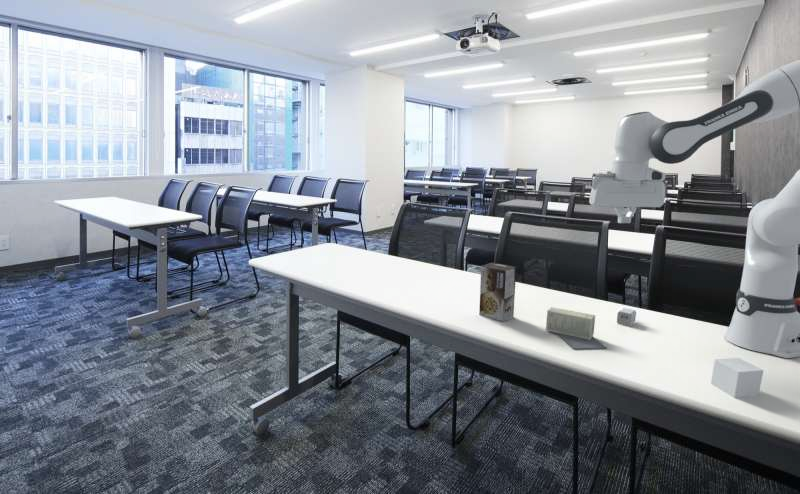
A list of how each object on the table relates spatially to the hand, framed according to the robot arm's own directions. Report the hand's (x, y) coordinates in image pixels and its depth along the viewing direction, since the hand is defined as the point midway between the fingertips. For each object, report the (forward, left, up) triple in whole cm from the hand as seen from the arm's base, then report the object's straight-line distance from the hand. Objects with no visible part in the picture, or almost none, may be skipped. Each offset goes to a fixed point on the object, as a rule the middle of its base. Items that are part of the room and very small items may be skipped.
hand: (623, 222), depth 128 cm
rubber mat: (+14, +9, -31) cm, 35 cm away
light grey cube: (-7, +37, -31) cm, 49 cm away
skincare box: (+11, +9, -28) cm, 31 cm away
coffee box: (+32, -11, -31) cm, 46 cm away
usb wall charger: (-7, -4, -31) cm, 32 cm away
